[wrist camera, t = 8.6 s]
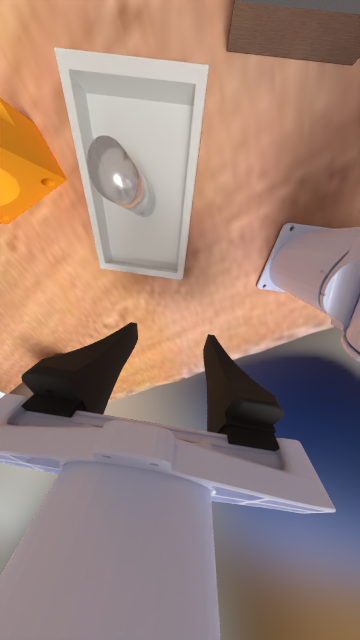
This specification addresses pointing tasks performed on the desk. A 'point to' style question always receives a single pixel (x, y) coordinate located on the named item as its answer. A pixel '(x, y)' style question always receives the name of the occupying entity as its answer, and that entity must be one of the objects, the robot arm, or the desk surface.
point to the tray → (139, 150)
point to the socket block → (297, 29)
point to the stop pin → (119, 177)
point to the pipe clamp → (23, 164)
